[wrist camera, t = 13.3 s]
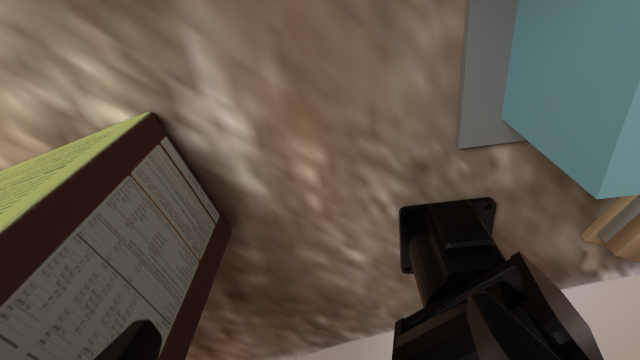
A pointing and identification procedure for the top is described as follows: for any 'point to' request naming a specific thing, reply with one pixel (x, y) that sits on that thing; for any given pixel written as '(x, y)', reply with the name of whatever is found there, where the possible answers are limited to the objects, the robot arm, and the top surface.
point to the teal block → (579, 89)
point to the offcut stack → (618, 228)
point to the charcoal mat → (486, 73)
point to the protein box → (105, 245)
